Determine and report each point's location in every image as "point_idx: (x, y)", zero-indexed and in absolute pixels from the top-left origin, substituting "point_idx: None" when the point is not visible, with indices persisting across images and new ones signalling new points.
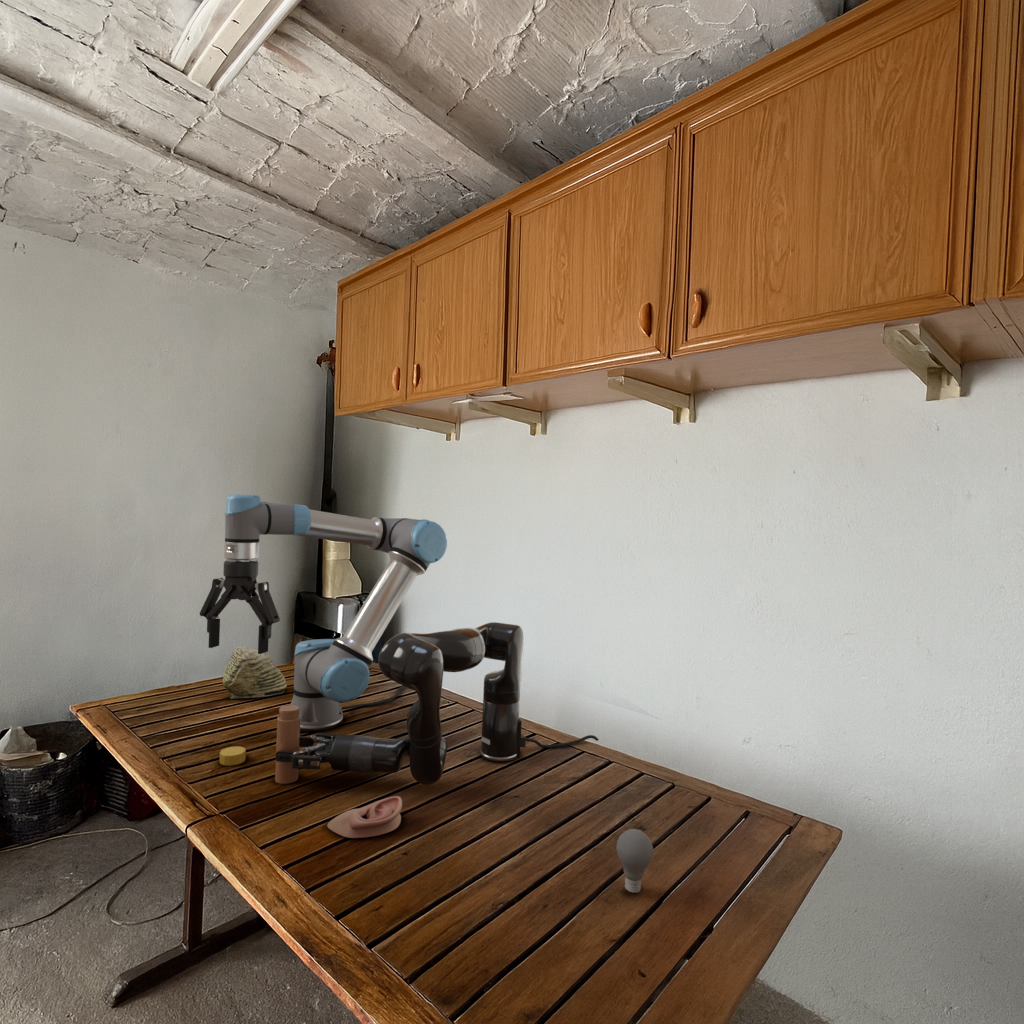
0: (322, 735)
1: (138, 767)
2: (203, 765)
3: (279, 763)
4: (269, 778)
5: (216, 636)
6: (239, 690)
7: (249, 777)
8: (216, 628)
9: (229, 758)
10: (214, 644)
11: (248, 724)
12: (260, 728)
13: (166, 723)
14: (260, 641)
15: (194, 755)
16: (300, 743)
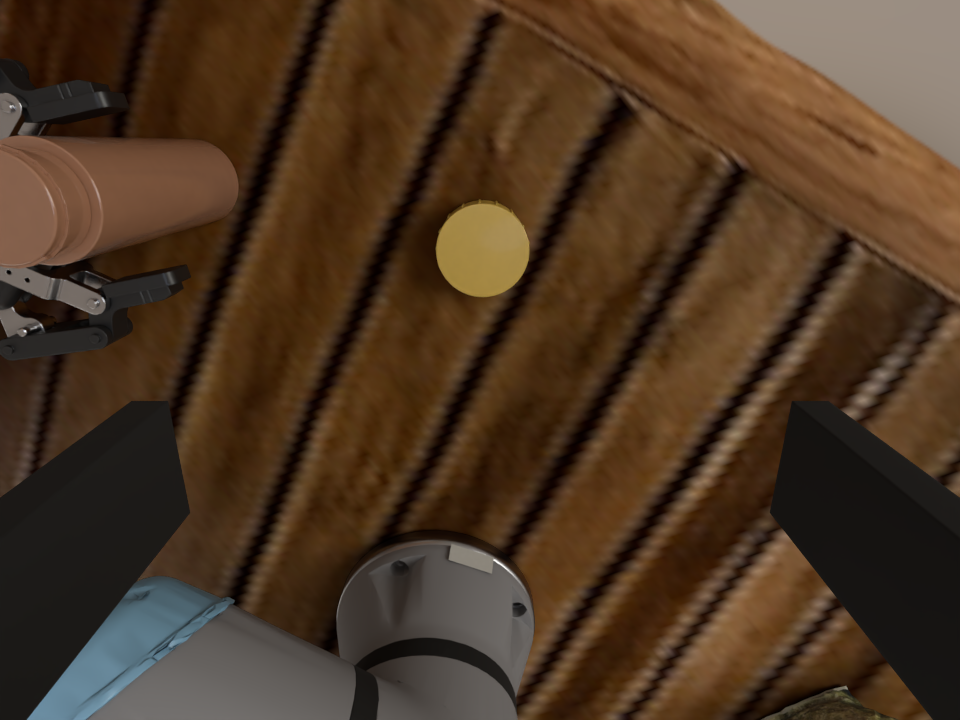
0: (68, 329)
1: (776, 63)
2: (554, 172)
3: (159, 138)
4: (257, 164)
5: (842, 543)
6: (825, 716)
7: (327, 144)
8: (921, 623)
9: (462, 205)
10: (798, 463)
11: (640, 527)
12: (578, 512)
13: (933, 440)
14: (42, 476)
15: (645, 236)
16: (149, 273)
